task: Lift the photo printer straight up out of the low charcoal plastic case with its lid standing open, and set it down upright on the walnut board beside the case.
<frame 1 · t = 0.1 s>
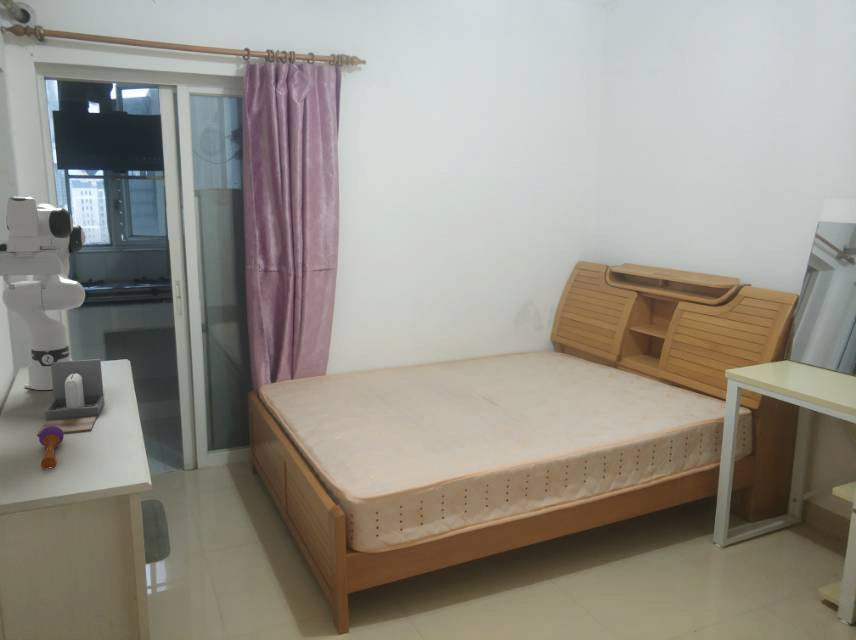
hand: (28, 289, 210), 39 cm above the table, tool pointing down, fingers open, 8 cm apart
equipment case: (76, 411, 209), on the table
maraca: (51, 456, 174), on the table
photo printer: (76, 412, 209), resting in equipment case
walnut board: (68, 426, 195), on the table
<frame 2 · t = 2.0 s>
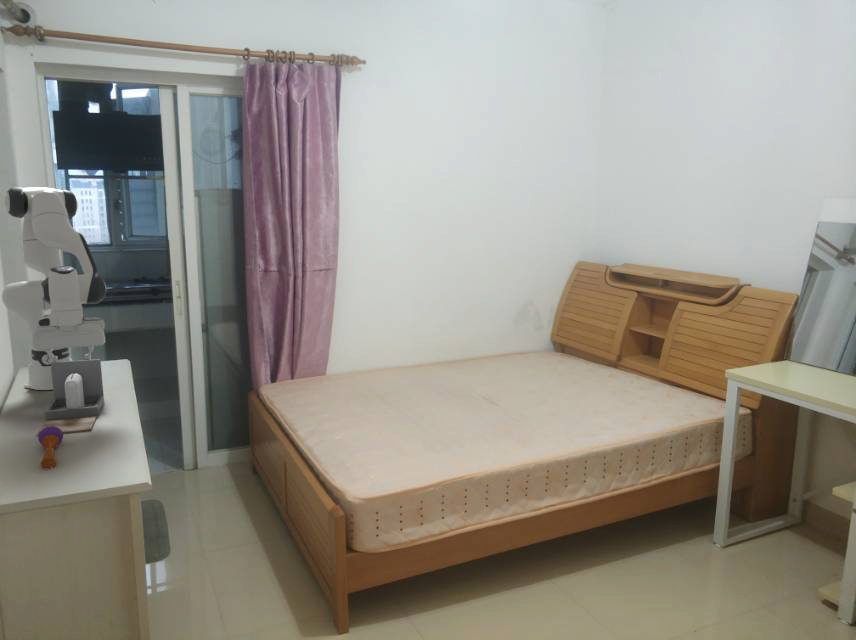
hand: (71, 361, 206), 17 cm above the table, tool pointing down, fingers open, 8 cm apart
nothing on the table moved.
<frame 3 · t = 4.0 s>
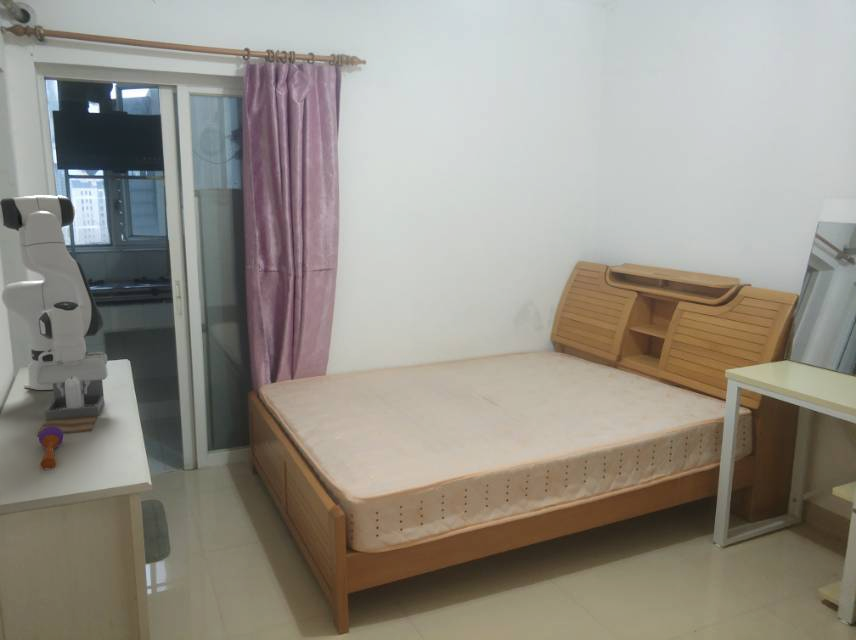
hand: (74, 394, 208), 6 cm above the table, tool pointing down, fingers closed on photo printer, 4 cm apart
photo printer: (76, 412, 209), resting in equipment case, touching gripper
everything else where it was.
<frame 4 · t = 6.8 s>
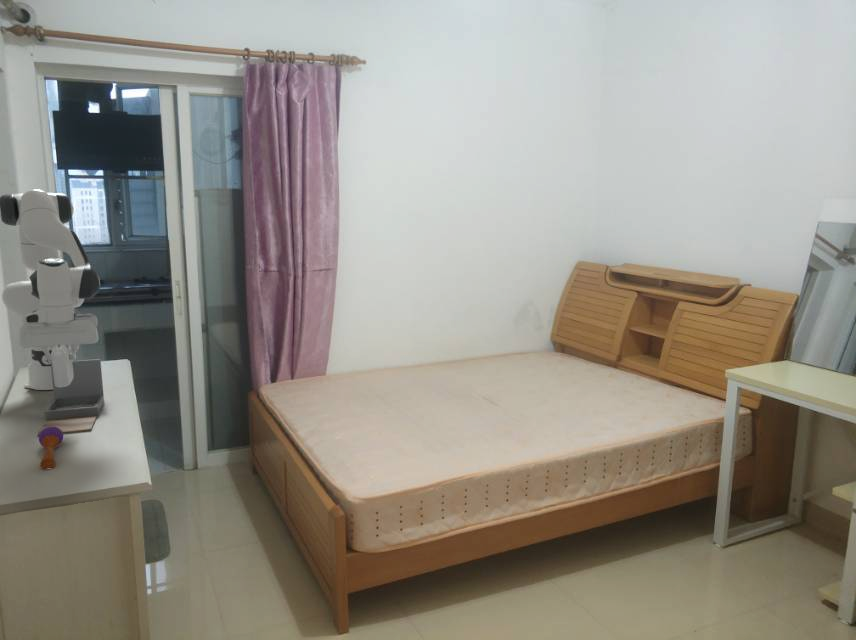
hand: (62, 360, 192), 21 cm above the table, tool pointing down, fingers closed on photo printer, 4 cm apart
photo printer: (64, 383, 193), point 13 cm above the table, touching gripper
everything else where it was.
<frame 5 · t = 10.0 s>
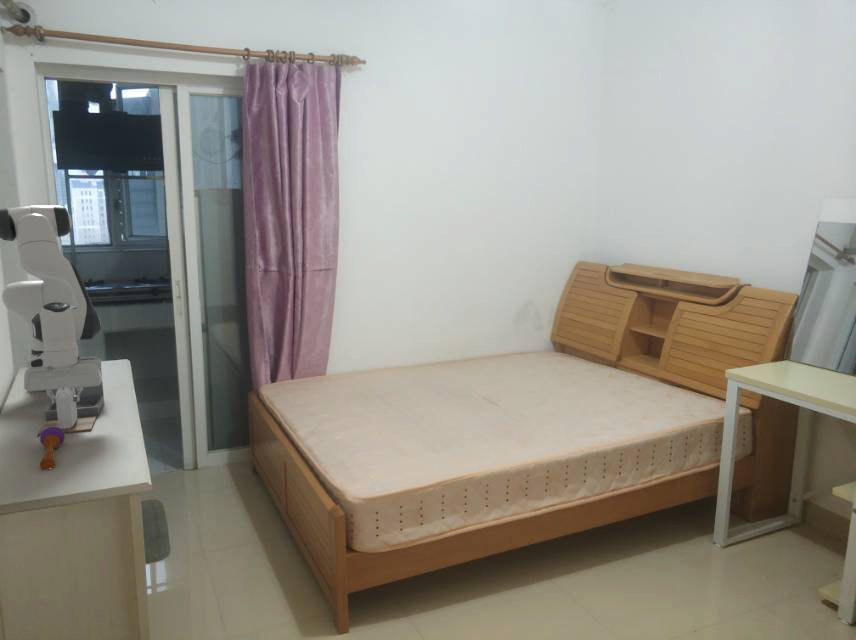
hand: (66, 402, 194), 8 cm above the table, tool pointing down, fingers closed on photo printer, 4 cm apart
photo printer: (68, 424, 196), resting on walnut board, touching gripper
everything else where it was.
when the fingers open (8 cm above the table, at t = 10.6 s): photo printer stays where it is, resting on walnut board.
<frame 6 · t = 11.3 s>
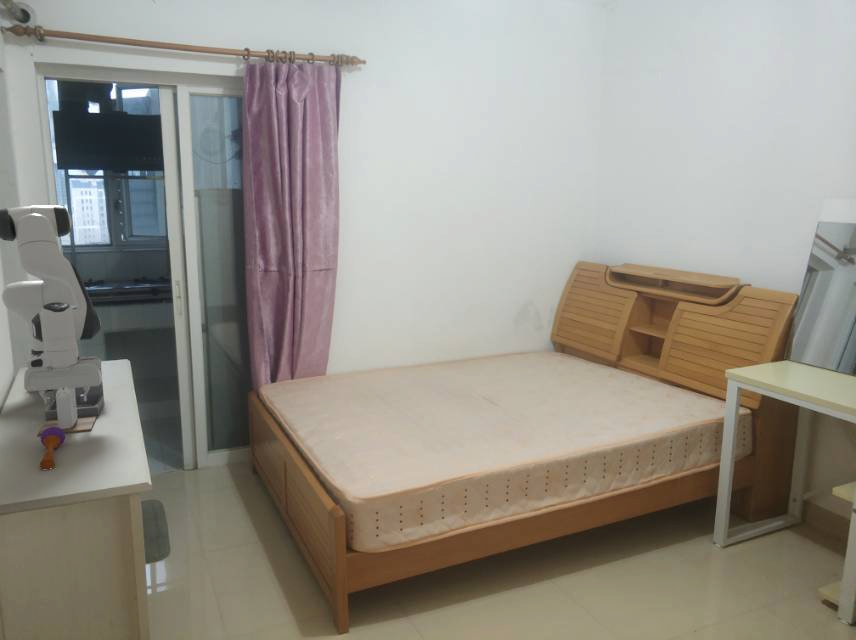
hand: (66, 402, 194), 8 cm above the table, tool pointing down, fingers open, 8 cm apart
photo printer: (68, 424, 196), resting on walnut board
everything else where it was.
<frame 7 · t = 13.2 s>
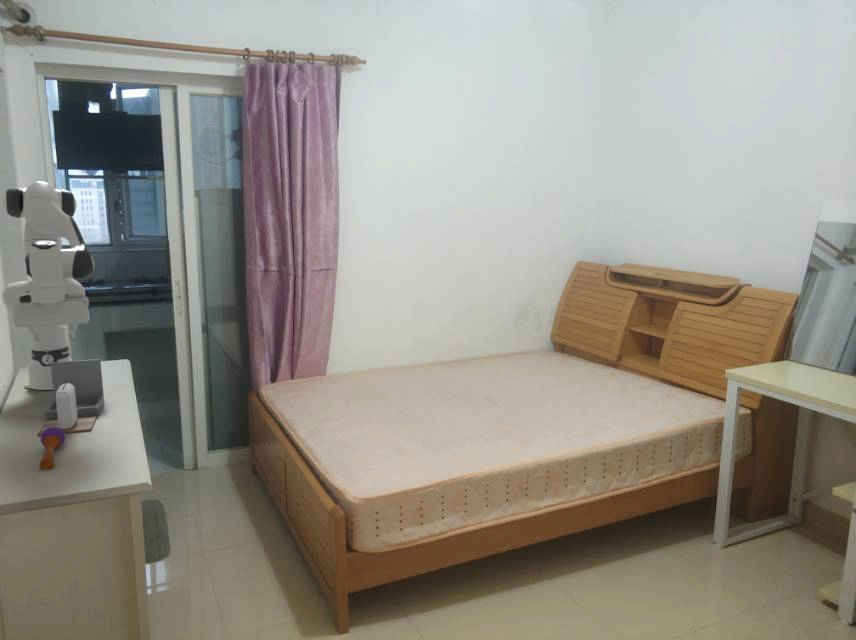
hand: (54, 338, 199), 25 cm above the table, tool pointing down, fingers open, 8 cm apart
nothing on the table moved.
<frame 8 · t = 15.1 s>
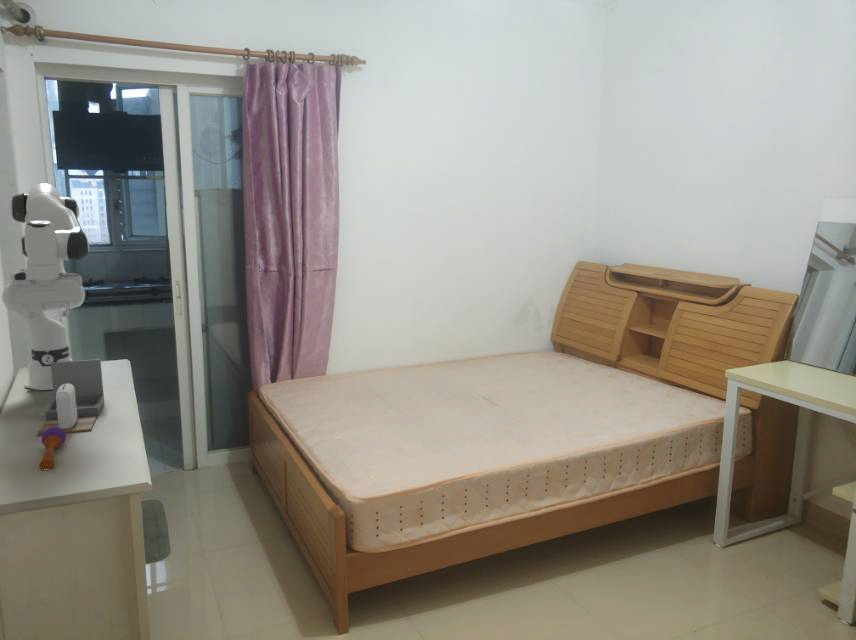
hand: (48, 317, 203), 31 cm above the table, tool pointing down, fingers open, 8 cm apart
at the end: photo printer 0.4 cm off-centre on the walnut board, point 0.4 cm above the walnut board's base; photo printer tilted 0°; the gripper is holding nothing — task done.
